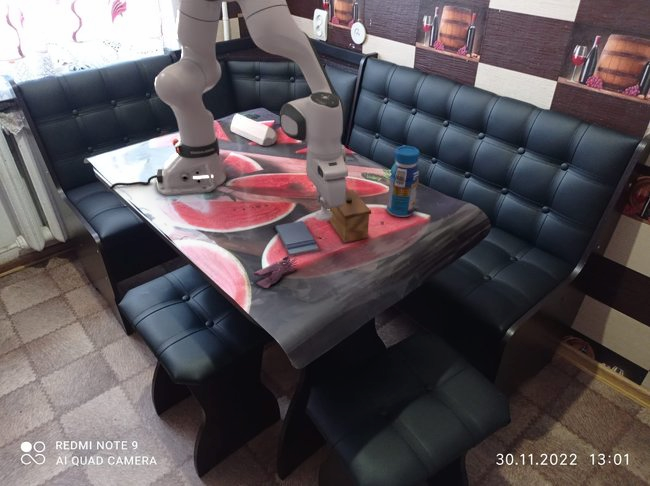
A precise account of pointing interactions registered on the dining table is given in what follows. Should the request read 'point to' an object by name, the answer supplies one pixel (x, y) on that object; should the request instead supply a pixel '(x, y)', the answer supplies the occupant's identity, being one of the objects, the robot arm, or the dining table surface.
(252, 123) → the crystal
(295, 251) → the grey flat slab
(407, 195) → the beverage bottle
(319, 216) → the chess piece
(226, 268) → the dining table surface
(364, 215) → the bread box
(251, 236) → the dining table surface
